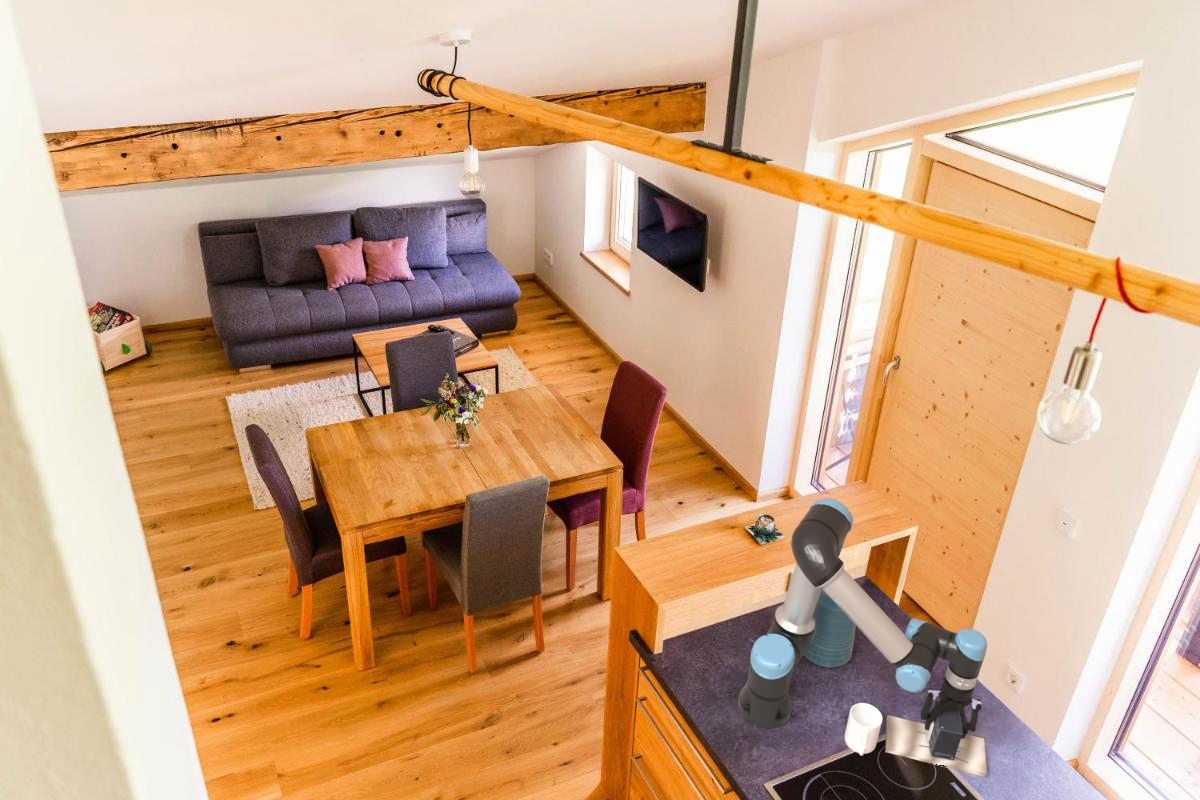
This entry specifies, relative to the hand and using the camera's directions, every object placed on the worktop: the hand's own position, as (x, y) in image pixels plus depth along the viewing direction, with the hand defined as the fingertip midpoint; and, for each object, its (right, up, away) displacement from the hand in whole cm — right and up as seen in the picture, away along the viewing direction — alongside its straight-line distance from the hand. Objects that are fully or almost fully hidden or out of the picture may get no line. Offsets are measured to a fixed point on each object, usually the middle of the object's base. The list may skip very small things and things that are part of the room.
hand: (941, 740), depth 244 cm
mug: (-22, -2, +1) cm, 22 cm away
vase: (-24, +15, +33) cm, 44 cm away
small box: (0, -1, +1) cm, 1 cm away
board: (-1, -3, +2) cm, 3 cm away
